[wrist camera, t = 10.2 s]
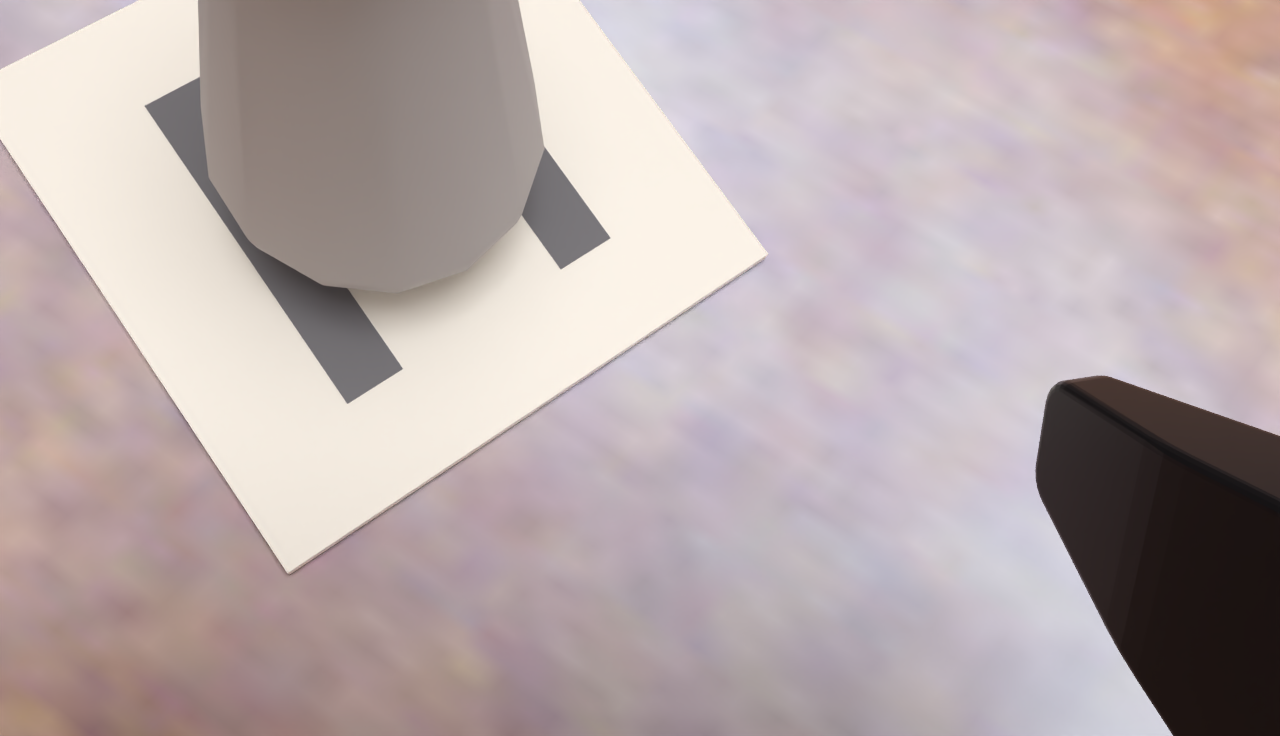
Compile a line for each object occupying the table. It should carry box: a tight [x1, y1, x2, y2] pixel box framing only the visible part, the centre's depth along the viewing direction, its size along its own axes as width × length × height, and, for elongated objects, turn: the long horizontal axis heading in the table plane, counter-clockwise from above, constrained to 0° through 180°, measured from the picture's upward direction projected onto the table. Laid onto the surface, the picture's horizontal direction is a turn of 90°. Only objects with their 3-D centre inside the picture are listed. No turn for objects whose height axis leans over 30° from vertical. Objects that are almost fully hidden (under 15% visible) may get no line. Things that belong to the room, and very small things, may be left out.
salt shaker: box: [198, 0, 544, 294], centre depth 17 cm, size 6×6×13 cm
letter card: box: [0, 0, 768, 574], centre depth 23 cm, size 11×11×1 cm
